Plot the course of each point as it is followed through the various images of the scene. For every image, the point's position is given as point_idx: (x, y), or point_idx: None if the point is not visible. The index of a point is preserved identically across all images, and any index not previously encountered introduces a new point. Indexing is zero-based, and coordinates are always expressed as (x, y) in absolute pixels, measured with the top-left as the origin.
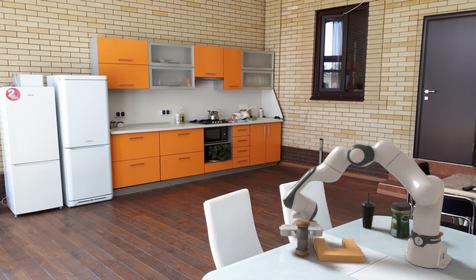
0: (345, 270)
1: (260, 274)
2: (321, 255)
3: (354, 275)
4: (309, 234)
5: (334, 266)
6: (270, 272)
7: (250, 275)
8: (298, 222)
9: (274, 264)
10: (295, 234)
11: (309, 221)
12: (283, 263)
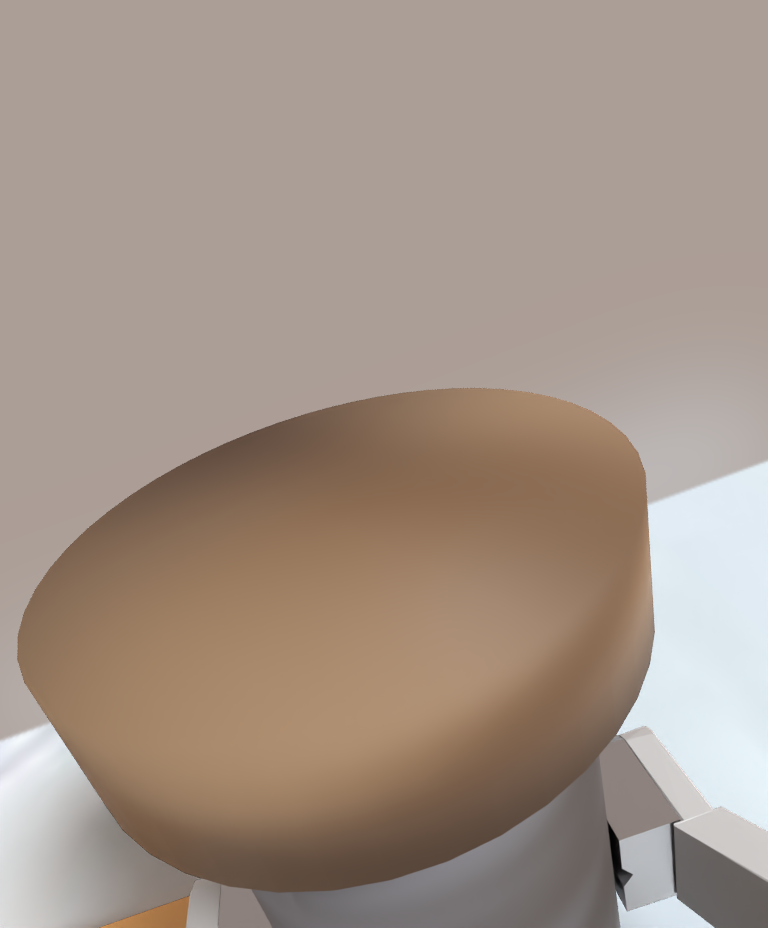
0: (26, 800)
1: (710, 492)
2: (174, 908)
3: (5, 739)
4: (238, 898)
5: (95, 850)
6: (663, 532)
7: (761, 463)
8: (483, 409)
9: (736, 638)
10: (631, 749)
11: (31, 608)
12: (662, 693)
